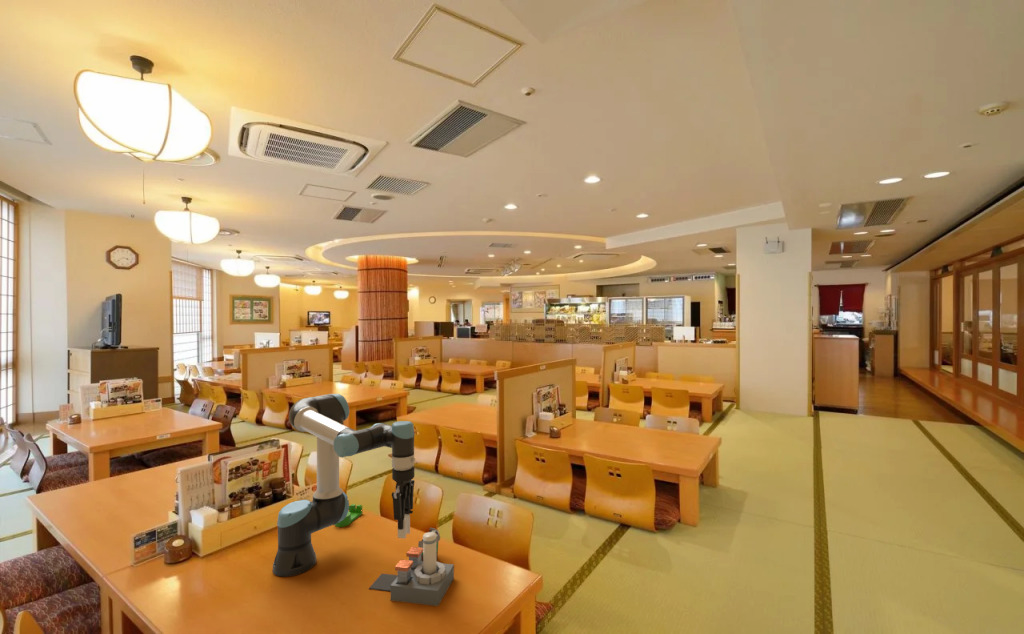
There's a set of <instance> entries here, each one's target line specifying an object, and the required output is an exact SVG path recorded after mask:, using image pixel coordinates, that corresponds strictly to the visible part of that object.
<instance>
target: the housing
mask: <svg viewBox="0 0 1024 634" xmlns="http://www.w3.org/2000/svg"><path fill="white" fill-rule="evenodd" d="M454 565H455V564H453V563H452V564H451V563H442V562H440V561H437V573H434V574H432V575H425V574H423V561H421V564H420V566H419V565H418V566H417V568H416V569H415V570H411V581H410V582H409V584H408V585H403V584H398V577H397V578H396V579H395V580H394V582H393V583H392V584H391V585H390V586H391V591H390V601H393V602H395V601H396V602H402V603H410V604H417V605H418V604H419V605H426V606H434V607H435V606H436V607H439V606H440V603H441V601H442V600H443V598H444V596H445V595H446V593H447V591H448V589H449V587H450V586H451V585H452V582H453V581H454V578H455V566H454Z"/></svg>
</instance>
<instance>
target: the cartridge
mask: <svg viewBox="0 0 1024 634" xmlns="http://www.w3.org/2000/svg"><path fill="white" fill-rule="evenodd" d="M422 539H423V574H425V575H432V574H434V573H437V562H438V557H436V533H434V532H429V531H428V532H425V533H423V535H422Z"/></svg>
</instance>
